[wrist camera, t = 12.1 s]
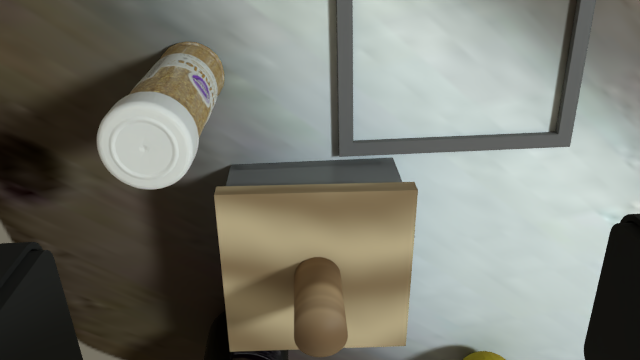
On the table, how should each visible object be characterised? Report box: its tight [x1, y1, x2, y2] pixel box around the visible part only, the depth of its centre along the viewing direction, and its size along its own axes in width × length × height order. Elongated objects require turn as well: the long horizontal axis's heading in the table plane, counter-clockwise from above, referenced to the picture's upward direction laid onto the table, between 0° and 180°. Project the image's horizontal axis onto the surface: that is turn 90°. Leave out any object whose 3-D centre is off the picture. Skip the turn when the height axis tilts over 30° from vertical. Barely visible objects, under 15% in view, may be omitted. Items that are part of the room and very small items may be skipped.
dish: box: [226, 158, 402, 186], centre depth 42 cm, size 12×12×5 cm
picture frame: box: [336, 0, 596, 157], centre depth 38 cm, size 17×17×1 cm
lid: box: [214, 182, 418, 357], centre depth 37 cm, size 13×13×7 cm
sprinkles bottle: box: [97, 42, 224, 190], centre depth 32 cm, size 5×5×14 cm
